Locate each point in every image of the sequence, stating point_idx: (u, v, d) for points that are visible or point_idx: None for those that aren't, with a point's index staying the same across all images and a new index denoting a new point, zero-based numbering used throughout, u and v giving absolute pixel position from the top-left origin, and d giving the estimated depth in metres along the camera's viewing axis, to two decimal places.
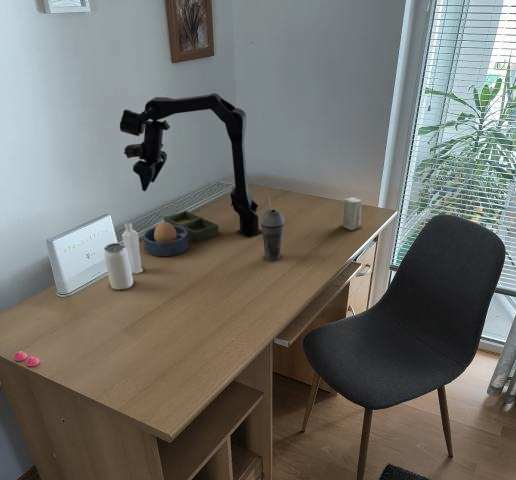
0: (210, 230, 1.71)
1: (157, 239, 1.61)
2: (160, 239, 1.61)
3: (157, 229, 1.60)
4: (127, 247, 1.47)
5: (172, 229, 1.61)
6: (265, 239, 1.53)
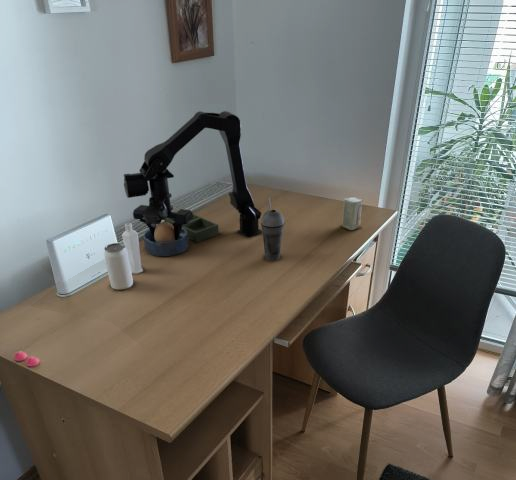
0: (210, 230, 1.71)
1: (157, 239, 1.61)
2: (160, 239, 1.61)
3: (157, 229, 1.60)
4: (127, 247, 1.47)
5: (172, 229, 1.61)
6: (265, 239, 1.53)
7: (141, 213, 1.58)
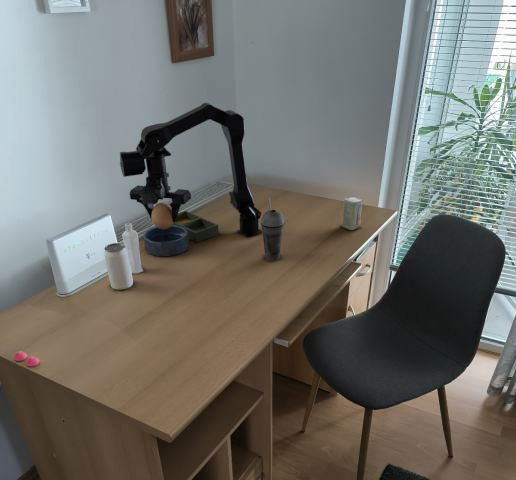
0: (210, 230, 1.71)
1: (154, 220, 1.57)
2: (157, 221, 1.57)
3: (154, 210, 1.57)
4: (127, 247, 1.47)
5: (170, 210, 1.57)
6: (265, 239, 1.53)
7: (138, 193, 1.54)
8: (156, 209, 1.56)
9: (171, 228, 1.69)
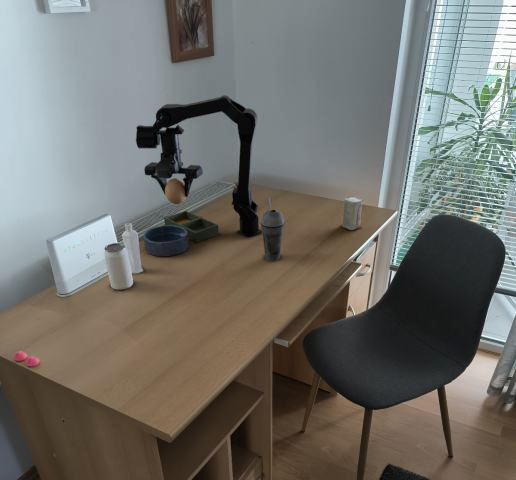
0: (210, 230, 1.71)
1: (168, 195, 1.66)
2: (171, 195, 1.66)
3: (168, 185, 1.65)
4: (127, 247, 1.47)
5: (182, 185, 1.66)
6: (265, 239, 1.53)
7: (152, 169, 1.63)
8: (169, 184, 1.65)
9: (171, 228, 1.69)
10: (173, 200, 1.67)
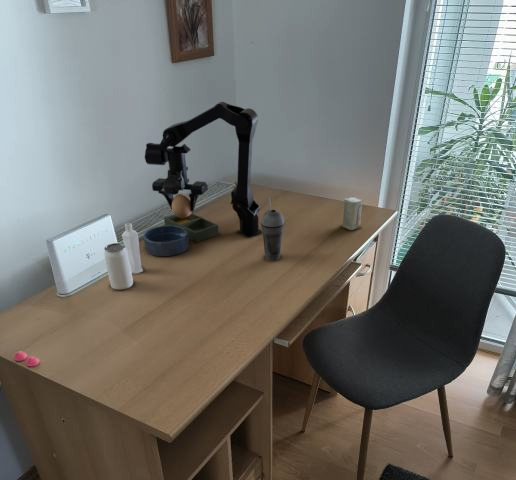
0: (210, 230, 1.71)
1: (174, 210, 1.74)
2: (177, 210, 1.73)
3: (174, 200, 1.73)
4: (127, 247, 1.47)
5: (188, 200, 1.73)
6: (265, 239, 1.53)
7: (160, 185, 1.70)
8: (176, 199, 1.72)
9: (171, 228, 1.69)
10: (179, 214, 1.74)
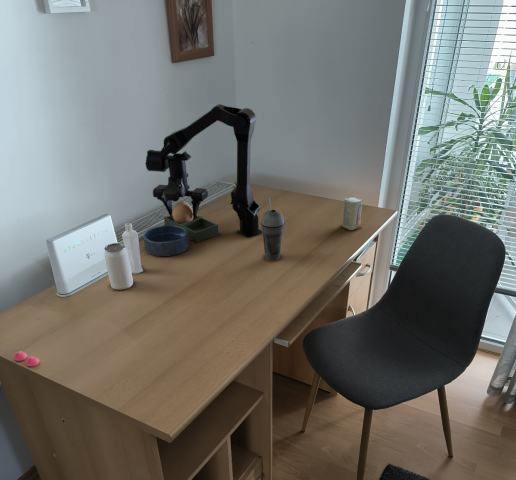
0: (210, 230, 1.71)
1: (175, 217, 1.75)
2: (178, 218, 1.75)
3: (175, 208, 1.74)
4: (127, 247, 1.47)
5: (189, 208, 1.75)
6: (265, 239, 1.53)
7: (160, 191, 1.72)
8: (177, 207, 1.74)
9: (171, 228, 1.69)
10: (180, 222, 1.76)
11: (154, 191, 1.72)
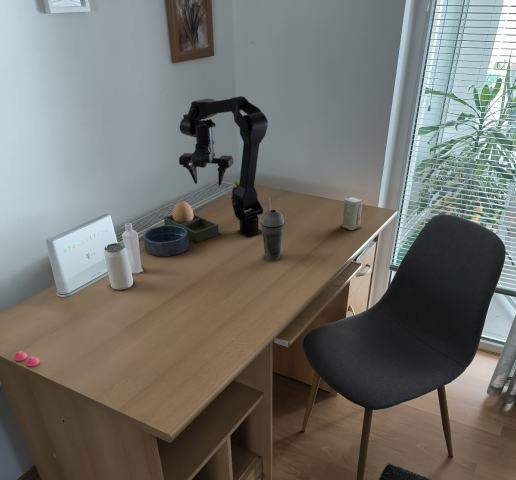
0: (210, 230, 1.71)
1: (175, 217, 1.75)
2: (178, 218, 1.75)
3: (175, 208, 1.74)
4: (127, 247, 1.47)
5: (189, 208, 1.75)
6: (265, 239, 1.53)
7: (187, 159, 1.75)
8: (177, 207, 1.74)
9: (171, 228, 1.69)
10: (180, 222, 1.76)
11: (180, 159, 1.75)
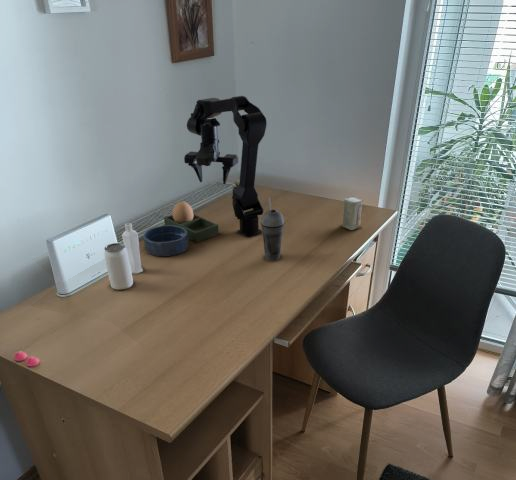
0: (210, 230, 1.71)
1: (175, 217, 1.75)
2: (178, 218, 1.75)
3: (175, 208, 1.74)
4: (127, 247, 1.47)
5: (189, 208, 1.75)
6: (265, 239, 1.53)
7: (192, 157, 1.76)
8: (177, 207, 1.74)
9: (171, 228, 1.69)
10: (180, 222, 1.76)
11: (186, 157, 1.77)
